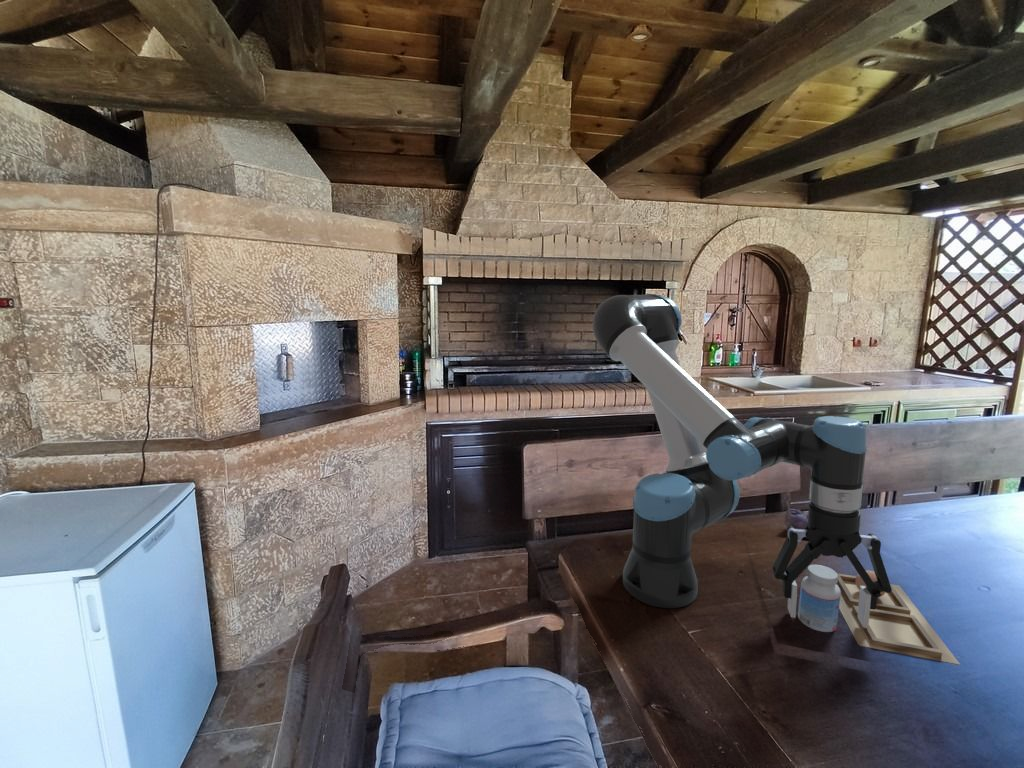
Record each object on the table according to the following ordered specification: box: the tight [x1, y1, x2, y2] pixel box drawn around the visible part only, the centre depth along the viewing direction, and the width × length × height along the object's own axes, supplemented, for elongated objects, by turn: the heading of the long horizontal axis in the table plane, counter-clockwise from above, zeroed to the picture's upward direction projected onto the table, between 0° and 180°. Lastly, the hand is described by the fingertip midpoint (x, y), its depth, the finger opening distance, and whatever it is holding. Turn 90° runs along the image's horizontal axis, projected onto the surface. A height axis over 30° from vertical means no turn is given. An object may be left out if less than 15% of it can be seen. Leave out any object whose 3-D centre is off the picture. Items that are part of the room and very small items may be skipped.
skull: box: [783, 508, 808, 530], centre depth 117 cm, size 12×8×6 cm, turn 29°
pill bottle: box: [797, 564, 841, 633], centre depth 86 cm, size 6×6×11 cm
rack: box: [836, 572, 961, 666], centre depth 88 cm, size 14×22×2 cm, turn 161°
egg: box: [855, 569, 886, 598], centre depth 93 cm, size 5×5×5 cm
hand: (826, 617), depth 86 cm, fingers open, 11 cm apart
